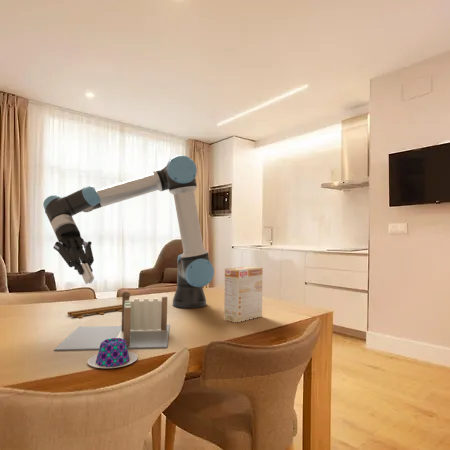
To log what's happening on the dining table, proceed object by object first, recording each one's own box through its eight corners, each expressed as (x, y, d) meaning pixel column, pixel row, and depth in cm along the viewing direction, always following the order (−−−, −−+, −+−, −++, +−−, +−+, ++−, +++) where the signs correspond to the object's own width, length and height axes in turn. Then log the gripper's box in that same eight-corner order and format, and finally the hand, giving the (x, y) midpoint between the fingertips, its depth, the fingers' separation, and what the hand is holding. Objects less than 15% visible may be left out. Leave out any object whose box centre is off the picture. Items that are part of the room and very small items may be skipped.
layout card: (169, 326, 118) (169, 324, 118) (167, 347, 96) (167, 346, 96) (79, 327, 114) (79, 326, 114) (54, 350, 92) (54, 349, 92)
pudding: (77, 363, 84) (77, 342, 84) (117, 350, 94) (118, 331, 94) (107, 375, 77) (108, 352, 77) (147, 360, 87) (148, 339, 87)
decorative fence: (65, 315, 133) (74, 320, 126) (65, 310, 133) (75, 315, 126) (124, 307, 150) (135, 311, 143) (124, 302, 150) (136, 306, 143)
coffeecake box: (249, 313, 139) (250, 265, 140) (262, 316, 134) (263, 267, 135) (223, 319, 129) (224, 268, 129) (236, 323, 124) (237, 269, 124)
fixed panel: (166, 330, 113) (167, 296, 113) (166, 332, 111) (167, 297, 111) (130, 331, 111) (131, 296, 112) (129, 333, 109) (130, 297, 110)
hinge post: (129, 331, 112) (130, 290, 112) (128, 333, 109) (129, 292, 109) (121, 331, 111) (122, 290, 112) (120, 333, 109) (121, 292, 109)
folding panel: (122, 331, 108) (123, 298, 109) (128, 330, 109) (129, 298, 109) (123, 346, 94) (124, 308, 94) (130, 345, 94) (131, 308, 95)
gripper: (50, 221, 115) (74, 275, 104) (87, 223, 126) (113, 271, 115) (42, 237, 118) (65, 290, 107) (80, 237, 129) (104, 285, 118)
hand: (90, 280), depth 111 cm, fingers closed
